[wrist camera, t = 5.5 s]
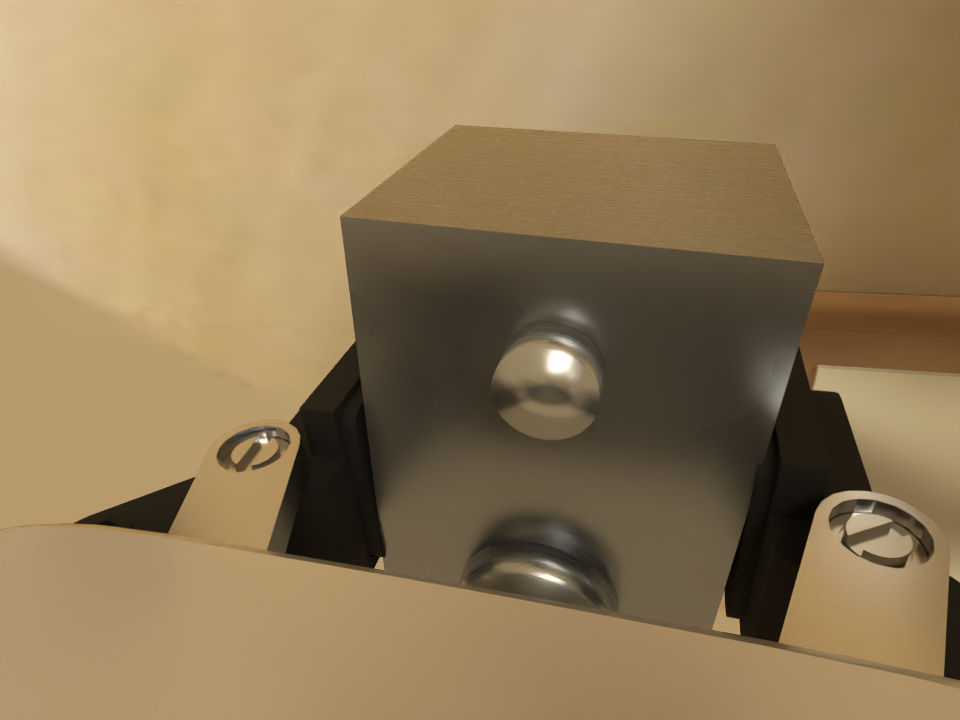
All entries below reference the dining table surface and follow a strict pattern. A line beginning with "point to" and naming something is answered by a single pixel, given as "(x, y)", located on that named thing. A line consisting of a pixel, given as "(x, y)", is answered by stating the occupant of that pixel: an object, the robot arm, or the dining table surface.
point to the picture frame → (896, 393)
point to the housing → (576, 359)
